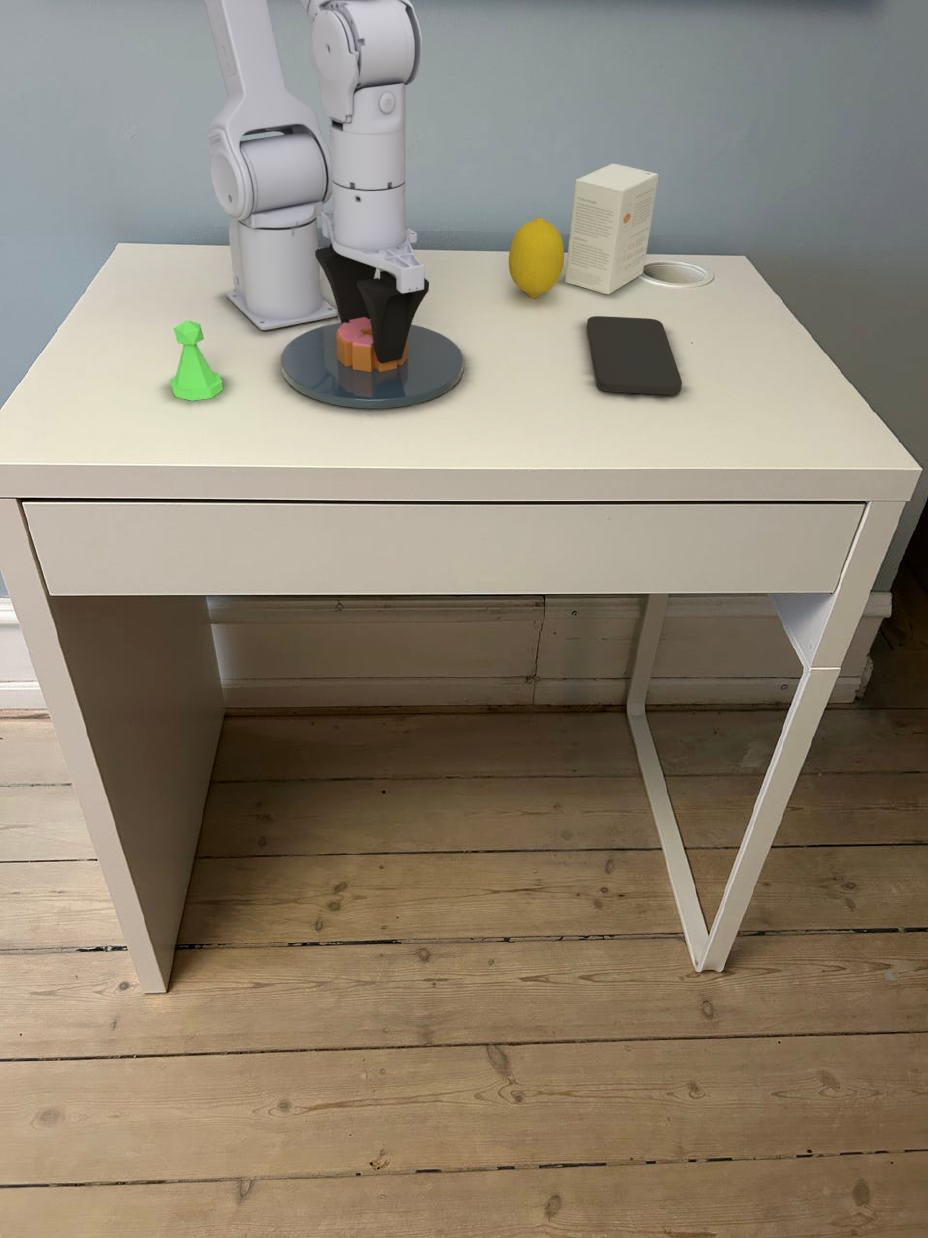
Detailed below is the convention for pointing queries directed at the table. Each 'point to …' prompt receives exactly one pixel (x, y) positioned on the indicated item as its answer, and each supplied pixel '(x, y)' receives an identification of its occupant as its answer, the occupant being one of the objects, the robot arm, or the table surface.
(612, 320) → the phone
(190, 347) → the game piece
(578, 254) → the small box
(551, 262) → the lemon
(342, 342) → the donut
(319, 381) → the plate
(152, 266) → the table surface
